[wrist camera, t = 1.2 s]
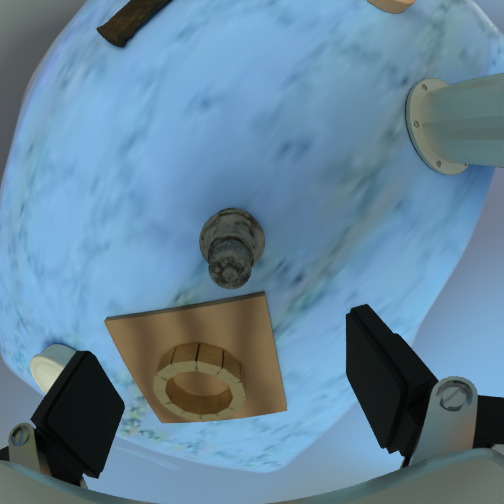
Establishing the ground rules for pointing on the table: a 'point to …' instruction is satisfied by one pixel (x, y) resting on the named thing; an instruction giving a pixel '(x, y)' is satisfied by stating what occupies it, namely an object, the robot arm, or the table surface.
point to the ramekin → (50, 364)
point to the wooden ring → (206, 362)
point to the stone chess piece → (231, 246)
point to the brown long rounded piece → (128, 20)
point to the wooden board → (210, 332)
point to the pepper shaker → (392, 5)
